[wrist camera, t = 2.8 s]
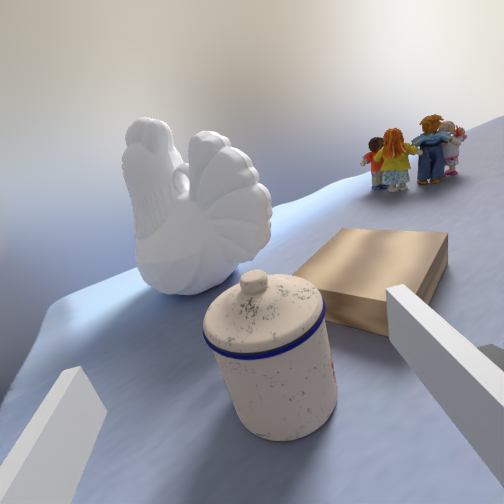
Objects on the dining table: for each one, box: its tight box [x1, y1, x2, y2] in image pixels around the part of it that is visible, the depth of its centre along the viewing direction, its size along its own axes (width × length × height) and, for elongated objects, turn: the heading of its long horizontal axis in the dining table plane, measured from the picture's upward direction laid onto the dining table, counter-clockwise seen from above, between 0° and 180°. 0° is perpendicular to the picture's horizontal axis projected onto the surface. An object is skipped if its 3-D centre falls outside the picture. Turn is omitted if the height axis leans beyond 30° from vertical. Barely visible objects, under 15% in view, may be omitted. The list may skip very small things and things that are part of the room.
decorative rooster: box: [122, 117, 272, 295], centre depth 42 cm, size 25×16×25 cm, turn 39°
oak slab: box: [292, 228, 448, 337], centre depth 36 cm, size 13×15×4 cm
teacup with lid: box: [203, 270, 337, 441], centre depth 25 cm, size 12×9×12 cm
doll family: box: [360, 114, 467, 192], centre depth 63 cm, size 21×10×13 cm, turn 82°
